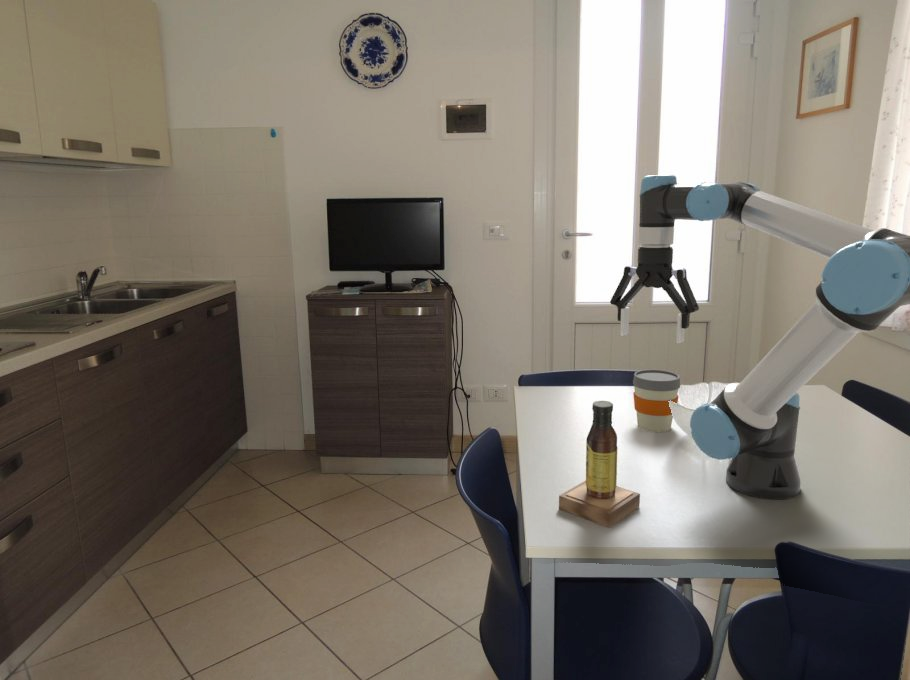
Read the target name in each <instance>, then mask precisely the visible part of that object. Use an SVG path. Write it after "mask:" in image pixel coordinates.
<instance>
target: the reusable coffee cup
mask: <svg viewBox="0 0 910 680" xmlns="http://www.w3.org/2000/svg"><path fill="white" fill-rule="evenodd" d="M680 380H681V377H680V374H677V373H675V372H673V371H669V370H663V369H643V370H642V369H640V370H638V371H635V372H634V374H633V380H632V384H633V387H634V391H633V393H632V395H633V404H634V410H635V411H636V420H637V421H636V422H637V428H639V429H640V430H642V431H645V432H650V433H665V432H668V431H670V430H671V429H672V423H673V419H674V415H673V416H672V413H671V409H670V407H669V402H668V401H670V400H671V401H673V402H675V403H677V404H678V401H679V395H678V392H679V389H680V388H681V381H680Z"/></svg>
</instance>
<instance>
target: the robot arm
mask: <svg viewBox="0 0 910 680" xmlns="http://www.w3.org/2000/svg"><path fill="white" fill-rule="evenodd" d="M639 192H640V193H639V225H638V228H639V229H638V243H637V244H639V245H640V246H638V248H637V266H636V267H635V266H633V265H626V266H624V269H623V275H622V277H621V279H620V282H619V283H618V285H617V287H616V288H615V292H614V293H613V295H612V296H611V299H610V302H609V303H610V305H613V306H615V307H617V321H618V322H620V331H619V332H620V333H619V335H620V337H624V336H627V335H629V328H630V326H629V325H630V307H628V304H629V303H630V302H631V301H632V299H634V297H635V296H636V295H638V293H639V292H640V291H641V290H642V289H643V288H644V287H645V288H655V289H660V288H662V290H663V291H665V292H666V294H667V295H668V297H669V298H670V300H671V301H672V303H674V305H675V306H676V307H677V309H678V310H679V311H680V313H678V314H677V319H676V321H677V322H676V337H675V338H676V339H675V340H676V342H675V343H676V344H681V343H684V342H685V335H686V334H685V333H686V329H688V328H689V327H690V315H691V314H692V313H695V312H698V311H699V310H700V307H699V305H698V302H697V299H696V297H695V295H694V293H693V290H692V288H691V285H690V283H689V281H688V279H687V278H688V277H687V269H686V268H679V269H674V268H673V261H674V260H673V258H674V255H673V254H674V247H672V245H673V244H674V239H675V238H674V236H675V220H685V221H686V220H687V221H700V222H703V221H704V222H705V221H708V222H709V221H715V220H719V219H723V220H724V219H729V220H732V221H734V222H737V223H739V224H742V225H744V226H747V227H750V228H752V229H755V230H757V231H759V232H763V233H765V234H767V235H770V236H773V237H775V238H778V239H780V240H782V241H784V242H787V243H789V244H792V245H794V246H797V247H800V248H802V249H804V250H807V251H809V252H811V253H815V254H816V255H819V256H822V257H825V258H827V259H828V261H827V262H826V264H824V265H825V266H824V268H823V271H822V273H821V278H822V281H820V283H818V285H817V286H816V287H815V289H814V297H815V302H813V304H812V305H811V306H810V307H809V308H808V309H807V310H806V311H805V312H804V314H803V315H802V316H800V318H799V319H798V320H797V321H796V322H795V323H794V324H793V325H792V326H791V328H789V330H788V331H787V332H786V333H785V334H784V335H783V336H782V338H781V339H780V340H778V341H777V343H775V345H774V346H773V347H772V348H771V349H770V350H769V351H768V352H767V353H766V355H764V357H763V358H762V359H761V360H760V361H759V362H758V363H757V364H756V365H755V366H754V367H753V369H752V370H751V371H750V372H749V373H748V374H747V375H746V376H745V377H744V378H743V380H742V381H740V382H732V383H729V384H728V385H727V386H725V387H724V388H723V389H722V391H720V393H719V394H718V395H717V396H716V397H715V398H714V399H713V400H712V401H711V402H709V403H703V404H701V405H700V406H698V407H697V408H696V409H694V411H693V412H692V414H691V416H690V421H689V426H690V429H691V432H690V433H691V436H692V439H693V441H694V443H695V444H696V446H697V447H698V449H699V450H700V451H701V452H702V453H703V454H705V455H706V456H708V457H709V458H711V459H715V460H721V461H723V460H727V459H728V460H729V459H731V460H730V461H729V464H728V466H727V467H726V472H725V481H726V483H727V484H728V486H730V487H731V488H732V489H733V490H735V491H737V492H739V493H742V494H745V495H748V496H752V497H756V498H762V499H766V500H767V499H769V500H785V499H791V498H794V497H795V496H797V495H799V493H800V492H801V491H800V490H801V478H800V473H799V469H798V466H797V463H796V459H795V458H796V457H795V451H796V450H795V449H796V441H797V432H798V424H799V413H800V409H801V406H800V400H801V399H800V398H801V397H800V395H799V393H798V392H799V391H800V390H801V389H802V388H803V387H804V386H805V385H806V384H807V383H808V382H809V381H810V380H811V379H813V377H814V376H815V375H817V374H818V372H819V371H820V370H821V369H822V368H824V367H825V366H826V364H828V363H829V362H830V361H831V359H832V358H834V357H835V356H836V354H838V353H839V352H840V351H841V350H842V349H843V348H844V347H845V346H846V345H847V344H849V342H850V341H851V340H852V339H853V338H854V337H855V336H856V335H857V334H858V333H871V332H873V331H875V330H876V329H877V328H879V326H881V324H882V323H884V322H885V321H886V320H887V319H888V318H889V317H890V316H891V315H892V314H893V313H894V312H895V311H896V310H898V309H899V308H900V307H903V306H907V305H910V235H907V234H904V233H901V232H897V231H894V230H891V229H888V228H883V227H882V228H879V229H876V230H874V229H871V228H867V227H864V226H862V225H860V224H856V223H854V222H851V221H847V220H844V219H843V218H839V217H836V216H834V215H830V214H827V213H825V212H822V211H819V210H817V209H814V208H811V207H807V206H805V205H801V204H800V203H797V202H796V203H795V202H793V201H790V200H787V199H785V198H782V197H779V196H776V195H774V194H770V193H767V192H765V191H762V190H760V188H759V187H758V186H757V185H755V184H753V183H749V182H741V181H740V182H723V183H722V182H721V183H719V182H718V183H717V182H716V183H715V182H705V181H704V182H697V183H696V182H694V183H677V176H676V175H674V174H658V175H655V174H654V175H645V176H643V178H642V179H641V182H640V191H639ZM635 275H637V277H638V279H637V280H636V281H635V283H634V284H633V285H632V287H630V289H629V290H628V291H627V292H626V289H627V288H628V286H629V284H630V282H631V280H632V279H633V277H634V276H635ZM673 277H674V279H675V280H676V281H677V285H678V287H679V289H680V291H681V293H682V295H681V294H680V293H679V291H678V290H677V289H676V287H675V284H674V283H673V282H672V280H671V278H673ZM625 292H626V293H625ZM624 294H625V295H624ZM682 296H683V297H682Z"/></svg>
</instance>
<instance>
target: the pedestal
mask: <svg viewBox="0 0 910 680" xmlns="http://www.w3.org/2000/svg"><path fill="white" fill-rule="evenodd" d="M640 497H641V493H639V492H636V491H632V490H630V489H626V488H624V487H622V486H618V485H616V488H615V495H614V496H612V497H609V498H597V497H593V496H591V495H589V494H588V492H587V487H586V480H584V481H582V482H581V483H579V484H577V485H575V486H573V487H572V488H570V489H568V490H567V491H565V492H562V493H561V494H559V496H558V509H559V510H560V511H564V512H567V513H569V514H571V515H575V516H576V517H580V518H582V519H585V520H587V521H590V522H592V523H593V522H594V523H595V524H599V525H601V526H604V527H606V528H609V529H610V528H611V527H613V526H614V525H615V524H616V523H618V522H620V521H621V520H623V519H624V518H625V517H627V516H629V515H631V514H632V512H634V511H636V510H637V509H638V508H640V504H641V503H640V500H641V499H640Z"/></svg>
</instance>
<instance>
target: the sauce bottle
mask: <svg viewBox="0 0 910 680" xmlns="http://www.w3.org/2000/svg"><path fill="white" fill-rule="evenodd" d="M591 409H592V413H593V414H592V425H591V427H590V429H589V432H588V434H587V437H586V443H585V445H586V450H585V452H586V454H585V457H586V458H585V481H586V487H587V492H588V494H589V495H591V496H593V497H597V498H609V497H612V496H614V495H615V488H616V486H617V479H618V477H617V475H618V434H617V433H616V430H615V429H614V427H613V425H612V424H613V421H612V419H613V417H612V416H613V410H614V404H613V402H611V401H609V400H596V401H594V402H592V408H591Z"/></svg>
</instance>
